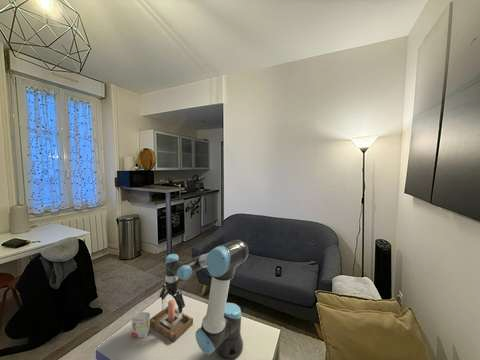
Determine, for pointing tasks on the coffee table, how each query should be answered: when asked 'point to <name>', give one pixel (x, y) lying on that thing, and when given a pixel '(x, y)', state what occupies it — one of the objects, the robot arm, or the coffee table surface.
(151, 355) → the coffee table surface
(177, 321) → the socket
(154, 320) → the tray
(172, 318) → the peg
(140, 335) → the ink box
